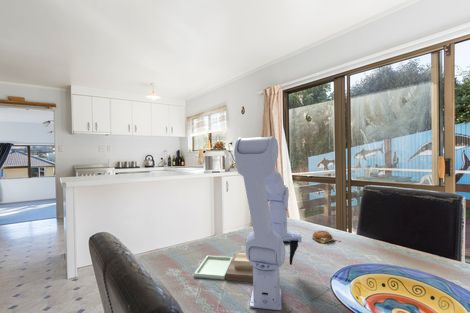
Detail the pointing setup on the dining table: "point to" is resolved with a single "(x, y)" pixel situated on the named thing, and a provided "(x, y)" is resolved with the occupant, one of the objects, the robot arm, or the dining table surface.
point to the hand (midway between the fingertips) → (278, 262)
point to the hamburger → (322, 236)
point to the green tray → (213, 267)
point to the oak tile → (242, 261)
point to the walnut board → (239, 273)
